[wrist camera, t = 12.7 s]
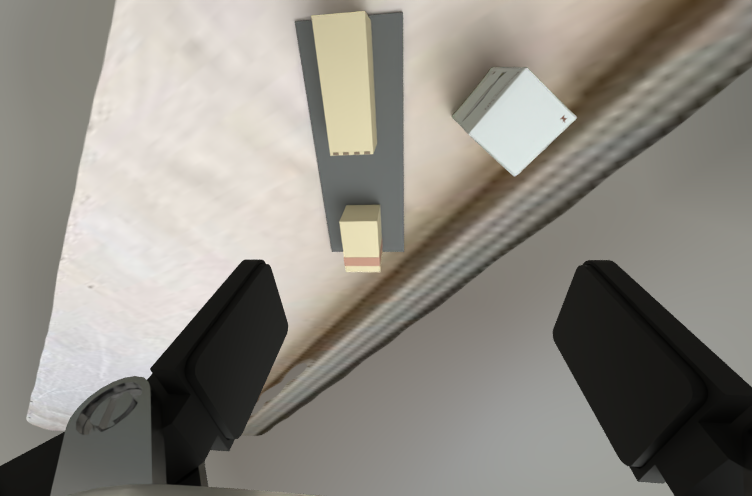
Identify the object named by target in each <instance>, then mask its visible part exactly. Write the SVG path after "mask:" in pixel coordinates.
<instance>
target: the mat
mask: <svg viewBox="0 0 752 496" xmlns="http://www.w3.org/2000/svg"><path fill="white" fill-rule="evenodd" d="M368 17H369V18H370V20H371V29H372V49H373V69H374V89H375V109H376V129H377V145H376V148H375V151H374V153H373V154H364V155H336V156H330V149H329V142H328V135H327V127H326V120H325V113H324V105H323V98H322V91H321V83H320V76H319V68H318V61H317V54H316V46H315V39H314V32H313V24H312V20H307V21H295V25H296V31H297V38H298V44H299V50H300V56H301V63H302V69H303V75H304V81H305V87H306V94H307V100H308V106H309V112H310V119H311V125H312V131H313V137H314V144H315V150H316V156H317V162H318V168H319V175H320V181H321V187H322V193H323V200H324V206H325V212H326V218H327V224H328V231H329V237H330V243H331V249H332V252H343V245H342V238H341V231H340V223H339V221H340V219H341V217H342V214H343V212H344V210H345V207H346V205H380V211H381V231H382V244H383V247H382V251H383V252H404V172H403V12H401V13H389V14H377V15H368Z"/></svg>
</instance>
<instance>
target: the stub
mask: <svg viewBox="0 0 752 496" xmlns="http://www.w3.org/2000/svg"><path fill="white" fill-rule="evenodd" d="M339 223H340V231H341V238H342V245H343V253H344V263H345V267H346V272H380V269H381V261H382V252H383V251H382V247H383V244H382V231H381V211H380V205H346V207H345V210H344V212H343V214H342V217H341V219H340V221H339Z"/></svg>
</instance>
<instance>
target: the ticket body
mask: <svg viewBox="0 0 752 496" xmlns="http://www.w3.org/2000/svg"><path fill="white" fill-rule="evenodd" d="M311 17H312V24H313V32H314V39H315V46H316V54H317V61H318V68H319V76H320V83H321V91H322V98H323V105H324V113H325V120H326V127H327V135H328V142H329V149H330V156H336V155H364V154H373V153H374V151H375V148H376V145H377V129H376V109H375V89H374V69H373V49H372V29H371V20H370V18H369V17H368V15H367V14H366V12H365V11H359V12H347V13H336V14H324V15H313V16H311Z"/></svg>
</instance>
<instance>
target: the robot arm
mask: <svg viewBox="0 0 752 496" xmlns="http://www.w3.org/2000/svg"><path fill="white" fill-rule="evenodd" d="M287 331H288V322H287V319H286V316H285V312H284V309H283V306H282V302H281V299H280V296H279V292H278V289H277V286H276V283H275V279H274V276H273V273H272V269H271V267H270V265H269V264H266V263H265V262H264V260H243V261H242V262H241V263H240V264H239V265H238V267H237V268H236V269H235V270H234V271H233V272H232V274H231V275H230V276H229V277H228V278H227V279H226V281H225V282H224V283H223V284H222V285H221V286H220V288H219V289H218V290H217V291H216V292H215V293H214V295H213V296H212V297H211V298H210V299H209V300H208V302H207V303H206V304H205V305H204V306H203V307H202V309H201V310H200V311H199V312H198V313H197V314H196V316H195V317H194V318H193V319H192V320H191V321H190V323H189V324H188V325H187V326H186V327H185V328H184V330H183V331H182V332H181V333H180V334H179V336H178V337H177V338H176V339H175V340H174V341H173V343H172V344H171V345H170V346H169V347H168V348H167V350H166V351H165V352H164V353H163V354H162V355H161V357H160V358H159V359H158V360H157V361H156V362H155V364H154V365H153V366H152V367H151V368H150V370H151V371H152V375H151V376H150V377H149V378H148V379H147V380H146V379H145V378H143V377H137V376H133V377H127V378H123V379H120V380H117V381H115V382H112V383H110V384H108V385H107V386H105V387H103V388H101V389H100V390H98V391H97V392H95V393H94V394H93V395H91V396H90V397H89V398H88V399H86V400H85V401H84V402H83V403H82V404H81V405H80V406H79V407H78V408H77V410H76V411H75V412H74V414H73V415H72V416H71V418H70V420H69V422H68V424H67V427H66V430H65V432H63V433H61V434H60V435H58V436H56V437H54V438H52V439H50V440H48V441H46V442H45V443H43V444H41V445H39V446H38V447H35V448H33V449H31V450H30V451H28V452H26V453H24V454H22V455H20V456H18V457H16V458H14V459H13V460H11V461H9V462H7V463H5V464H3V465H1V466H0V496H320V495H307V494H296V493H283V492H271V491H259V490H247V489H234V488H217V487H208V481H207V475H206V468H205V462H204V461H205V459H206V457H207V455H208V453H209V451H210V450H218V451H229V450H230V448H231V446H232V444H233V442H234V440H235V439H238V438H239V437H240V436H241V435H242V433H243V431H244V429H245V426H246V424H247V422H248V420H249V417H250V415H251V413H252V410H253V408H254V406H255V404H256V402H257V399H258V397H259V395H260V393H261V391H262V388H263V386H264V384H265V382H266V379H267V377H268V375H269V373H270V370H271V368H272V366H273V364H274V362H275V359H276V357H277V355H278V353H279V350H280V348H281V346H282V344H283V341H284V339H285V337H286V335H287ZM553 339H554V342H555V344H556V345H557V347H558V349H559V351H560V352H561V354H562V356H563V358H564V360H565V361H566V363H567V365H568V367H569V369H570V371H571V372H572V374H573V376H574V378H575V380H576V381H577V383H578V385H579V387H580V389H581V390H582V392H583V394H584V396H585V398H586V399H587V401H588V403H589V405H590V407H591V408H592V410H593V412H594V414H595V416H596V417H597V419H598V421H599V423H600V425H601V426H602V428H603V430H604V432H605V434H606V436H607V437H608V439H609V441H610V443H611V445H612V446H613V448H614V450H615V452H616V454H617V455H618V457H619V459H620V460H621V461H622V462H623V463H624V464H625V465H627V466H629V467H630V468H631V470H632V472H633V474H634V476H635V477H636V479H637V481H638V482H651V483H664V482H666V483H667V484H668V486H669V487H670V489H671V491H672V492H673V494H674V496H752V387H751V386H750V385H749V384H748V383H746V382H745V381H744V380H743V379H742V378H741V377H740V376H739V375H738V374H737V373H736V372H734V371H733V370H732V369H731V368H730V367H729V366H728V365H727V364H725V362H723V361H722V360H721V359H720V358H719V357H718V356H717V355H716V354H715V353H713V352H712V351H711V350H710V349H709V348H708V347H707V346H706V345H705V344H704V343H702V342H701V341H700V340H699V339H698V338H697V337H696V336H695V335H694V334H692V333H691V332H690V331H689V330H688V329H687V328H686V327H685V326H684V325H683V324H682V323H681V322H679V321H678V320H677V319H676V318H675V317H674V316H673V315H672V314H671V313H669V311H667V310H666V309H665V308H664V307H663V306H662V305H661V304H660V303H659V302H658V301H656V300H655V299H654V298H653V297H652V296H651V295H650V294H649V293H648V292H647V291H645V290H644V289H643V288H642V287H641V286H640V285H639V284H638V283H636V282H635V281H634V280H633V279H632V278H631V277H630V276H629V275H628V274H627V273H626V272H625V271H623V270H622V269H621V268H620V267H619V266H618V265H617V264H616V263H614V262H613V261H610V260H588V261H586V262H584V264H583V265H581V266H578V268H577V269H576V272H575V274H574V277H573V280H572V282H571V285H570V287H569V290H568V292H567V295H566V298H565V301H564V303H563V305H562V308H561V311H560V313H559V316H558V318H557V321H556V324H555V326H554V329H553Z"/></svg>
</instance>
